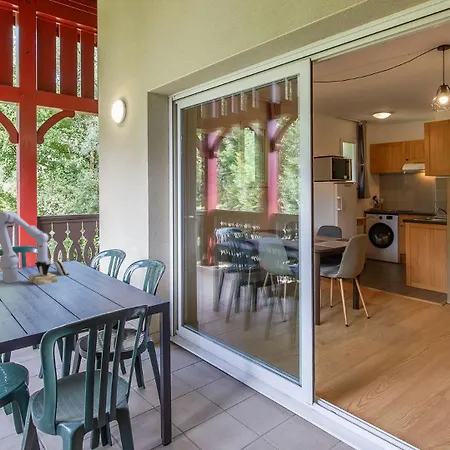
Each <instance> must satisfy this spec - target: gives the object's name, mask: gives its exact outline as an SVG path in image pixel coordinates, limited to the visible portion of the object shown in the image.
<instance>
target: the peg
mask: <svg viewBox="0 0 450 450" xmlns="http://www.w3.org/2000/svg"><path fill="white" fill-rule="evenodd" d="M39 267H40V276H41V277H42V276H46V275H43V270H42V267H41V266H39Z"/></svg>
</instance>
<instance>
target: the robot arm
mask: <svg viewBox="0 0 450 450" xmlns="http://www.w3.org/2000/svg"><path fill="white" fill-rule="evenodd" d="M11 223H14V224H17V225H18V226H20V227H21V228H22V229H25V232H26V234H27V235H29V236H30V237H31V238H33V239H34V240H35V242H36V247H37V248H36V249H37V252H36V253H37V254H36V255H37V258H35V263H34V264H35V266H36V269H37V270H38V274H40V267H39V266H41V267H42V270H43V275H47V273H49V269H50V267H51V265H52V264H51V261H50V258H49V257H48V255H49V254H48V241H49V238H50V237H49V235H48V233H46V232H43V231H42V230H40V229H39V228H37V226H36V225H30V224H28V223H27V222H26V221H25V220H24V219H22V218H21V217H20V216H19V215H18V214H17V213H15V212H14V211H13V210H7V211H0V246H1V250H2V255H1V265H2V267H3V269H2V279H1V282H3V283H5V284H12V283H18V282H21V281H22V280H20V279H19V273H18V272H19V271H18V266H19V264H20V259H19V256H18V255H17V253H16V252H15V251H14V250H13V245H12V243H11V242H12V241H11V239H10V236H9V235H10V234H9V231H8V229H7V227H8V226H9V224H11Z"/></svg>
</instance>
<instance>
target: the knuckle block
mask: <svg viewBox="0 0 450 450" xmlns="http://www.w3.org/2000/svg"><path fill="white" fill-rule="evenodd" d="M28 281H29V283H31V284H34V285H37V286H40V285H46V284H52V283H57V282H58V275H56V274H53V273H51V272H48V273H47V275H46V276H42V277H41V276H40V274H39V273H38V274H31V275H29V276H28Z"/></svg>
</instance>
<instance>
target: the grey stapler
mask: <svg viewBox="0 0 450 450" xmlns="http://www.w3.org/2000/svg"><path fill="white" fill-rule="evenodd" d="M54 266H55V269H56V270H57V273H59V274H60V275H61V276H65V275H67V274H68V275H70V272H69V271H68V270H67V269H66V266H65V265H64V263H63V261H61V260H57V261H55V262H54Z"/></svg>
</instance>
